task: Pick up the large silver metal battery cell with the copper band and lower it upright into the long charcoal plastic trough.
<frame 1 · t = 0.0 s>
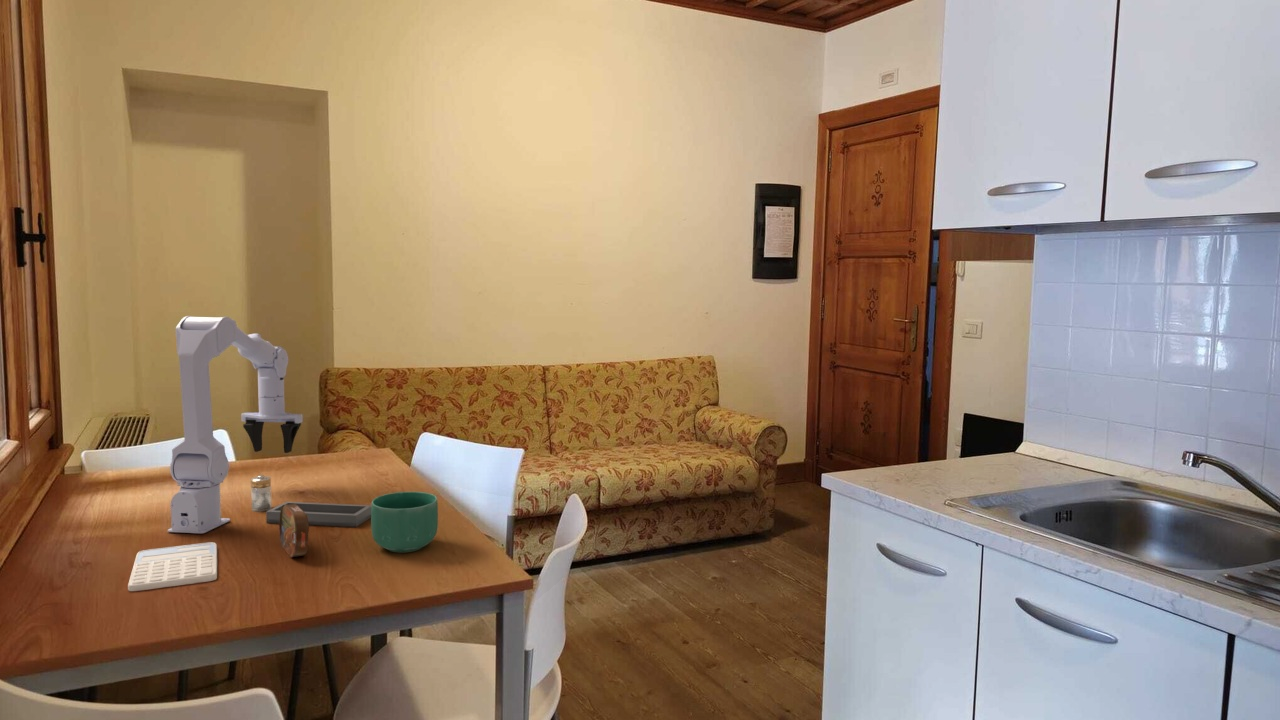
hand: (272, 451, 201), 10 cm above the table, fingers open, 7 cm apart
cell: (261, 508, 188), on the table
calculator: (175, 571, 150), on the table
trough: (320, 519, 180), on the table
tin: (294, 551, 160), on the table
mug: (403, 544, 165), on the table
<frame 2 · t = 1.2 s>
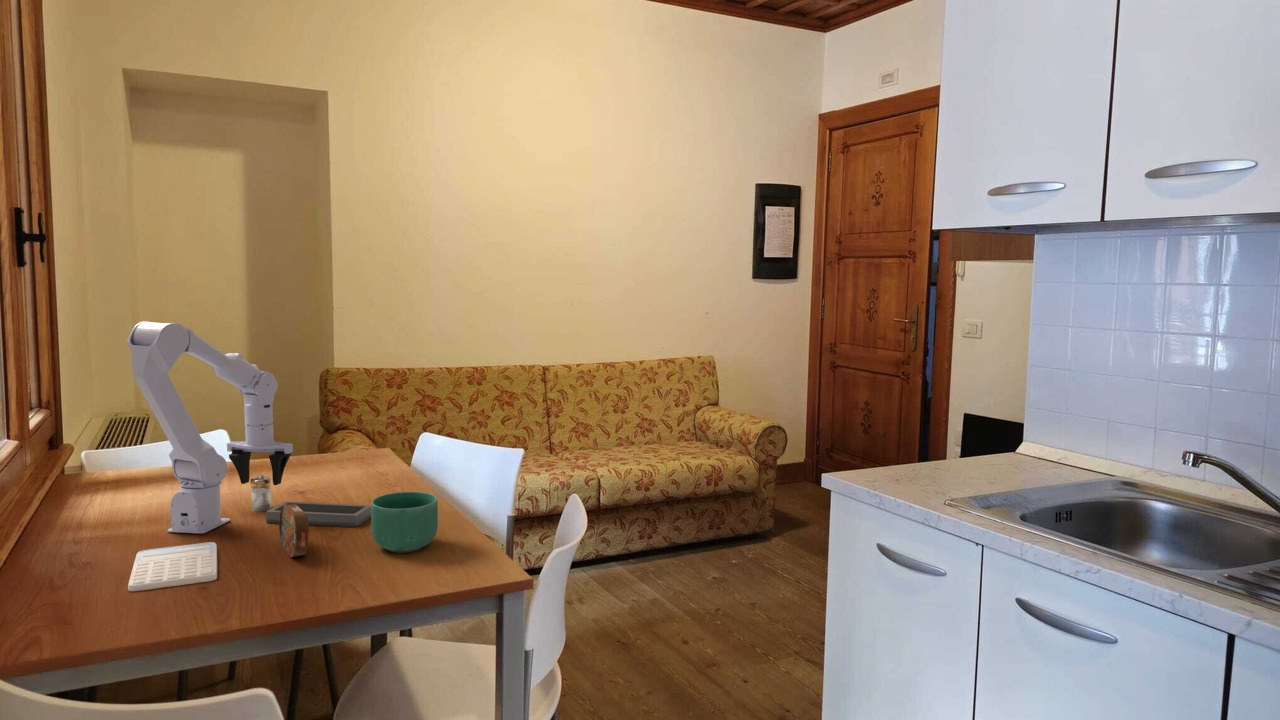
hand: (261, 483, 187), 6 cm above the table, fingers open, 7 cm apart
nothing on the table moved.
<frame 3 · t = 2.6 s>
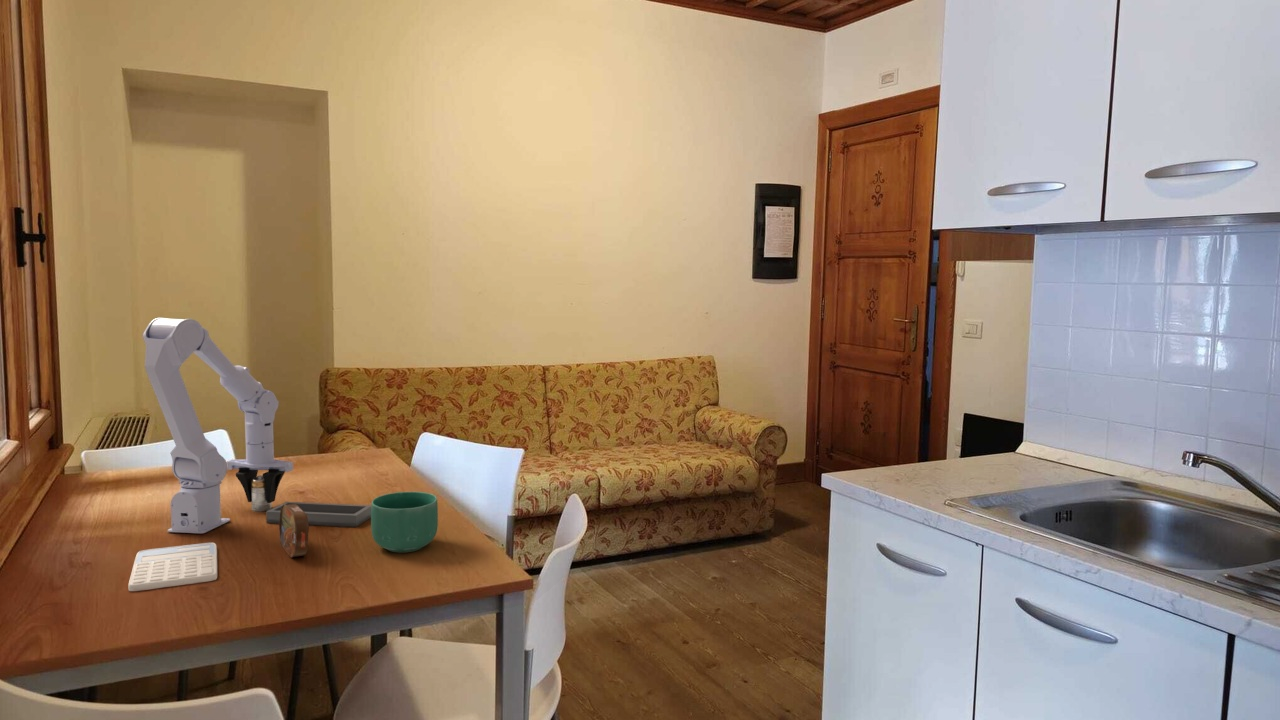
hand: (261, 501, 188), 2 cm above the table, fingers closed on cell, 4 cm apart
cell: (261, 508, 188), on the table, touching gripper
everything else where it was.
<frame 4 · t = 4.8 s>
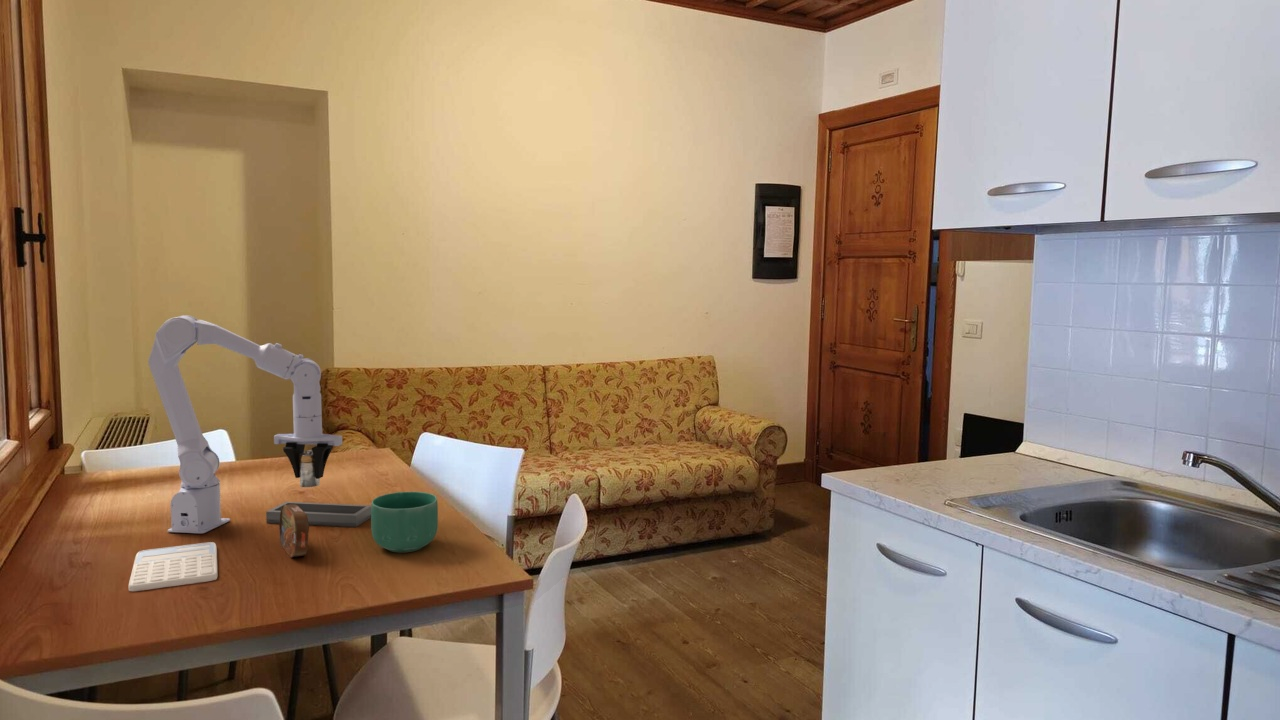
hand: (309, 477, 181), 9 cm above the table, fingers closed on cell, 4 cm apart
cell: (309, 485, 181), point 7 cm above the table, touching gripper
everything else where it was.
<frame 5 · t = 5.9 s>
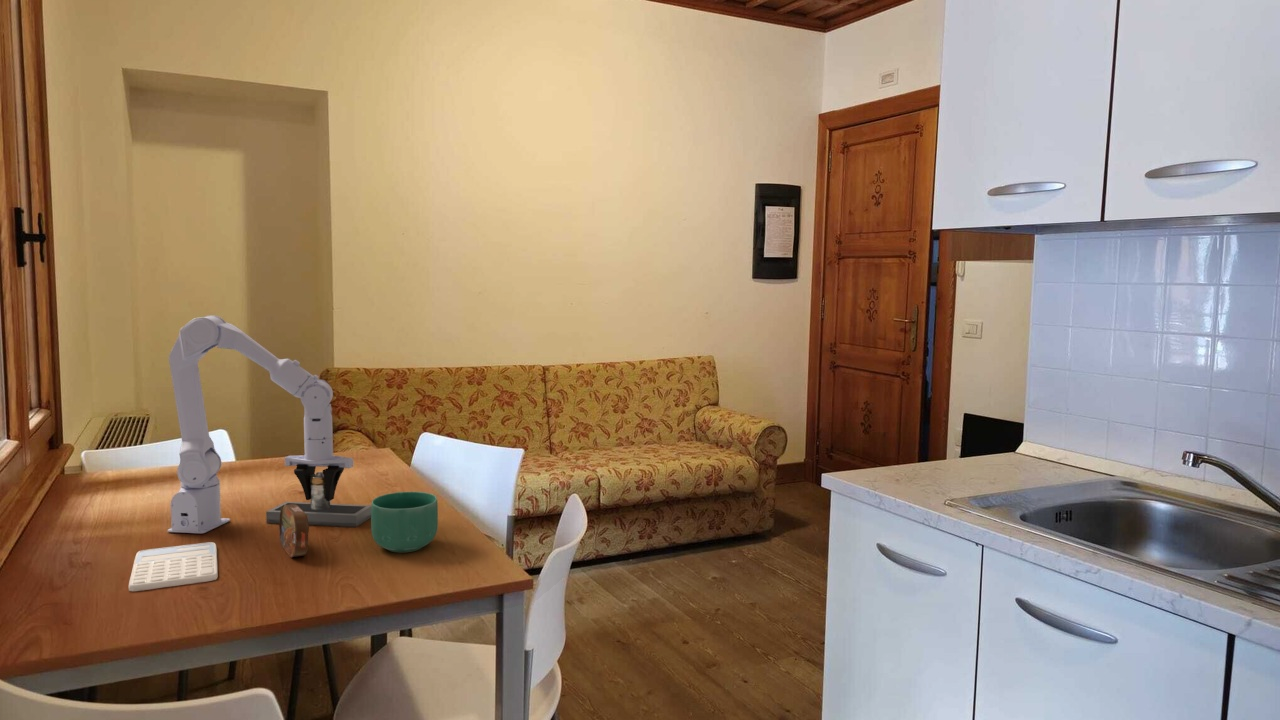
hand: (320, 499, 180), 5 cm above the table, fingers closed on cell, 4 cm apart
cell: (320, 507, 180), point 3 cm above the table, touching gripper
everything else where it was.
when the fingers open (4 cm above the table, at t = 6.9 s): cell stays where it is, resting on trough.
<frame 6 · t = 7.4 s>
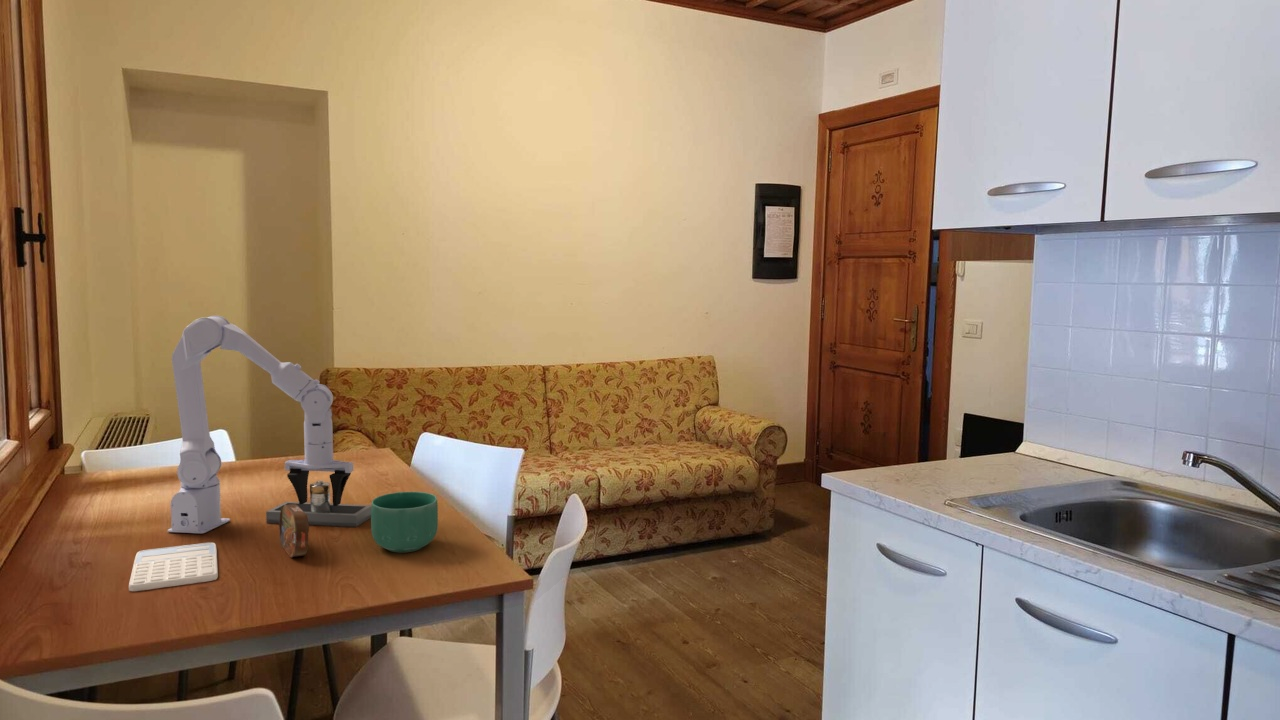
hand: (320, 503, 180), 4 cm above the table, fingers open, 7 cm apart
cell: (320, 515, 180), point 1 cm above the table, touching trough
everything else where it was.
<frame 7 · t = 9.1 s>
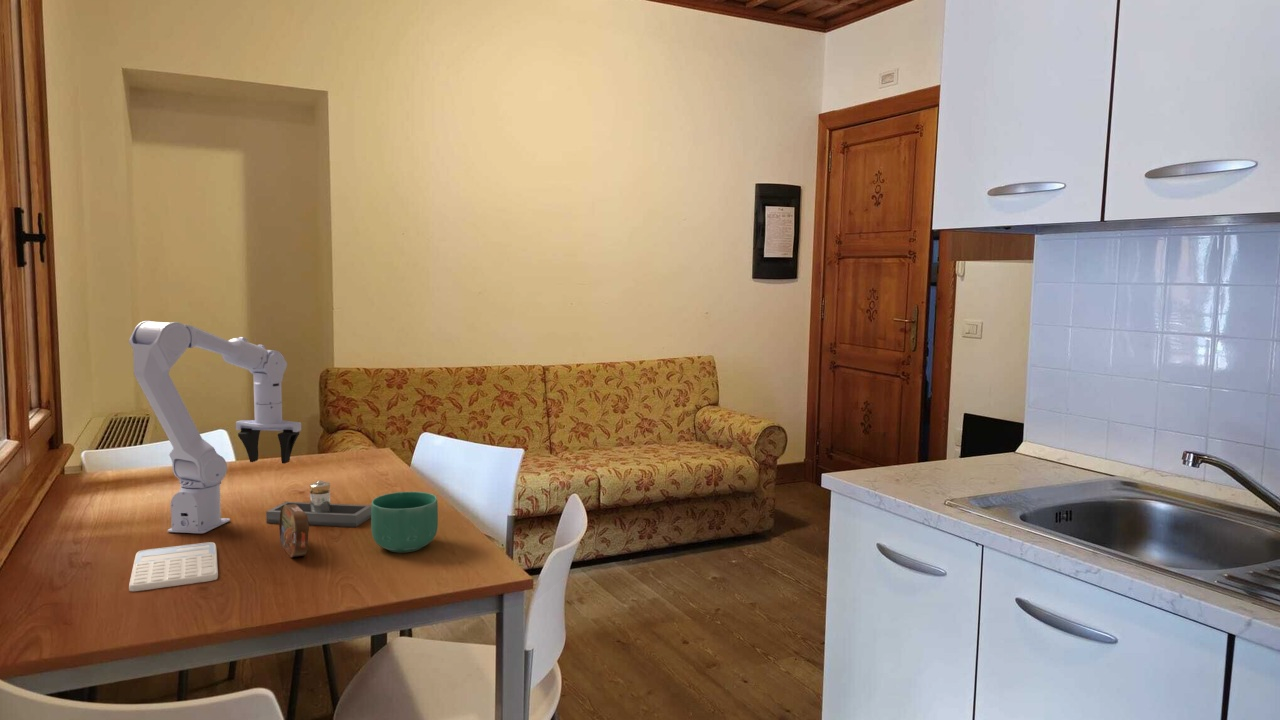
hand: (269, 462, 189), 10 cm above the table, fingers open, 7 cm apart
nothing on the table moved.
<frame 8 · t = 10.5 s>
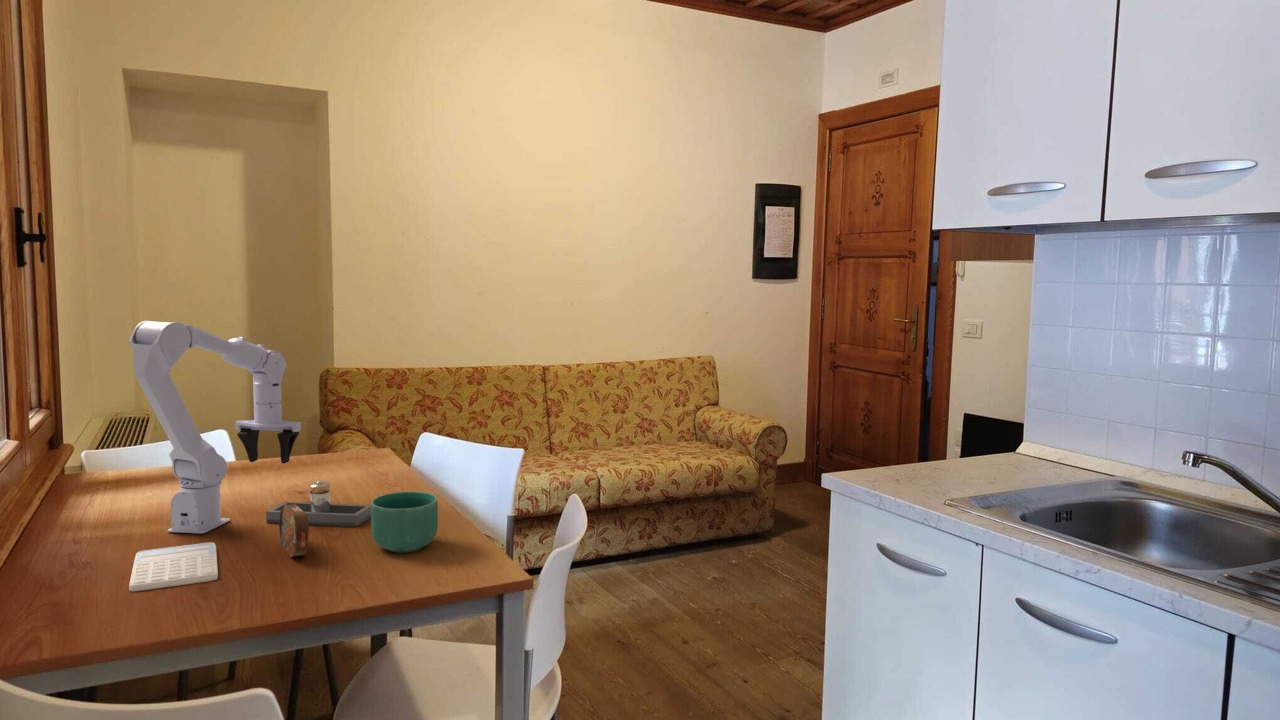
hand: (269, 461, 189), 10 cm above the table, fingers open, 7 cm apart
nothing on the table moved.
at the end: cell inside the target area on the trough (0.2 cm from its centre), point 0.8 cm above the trough's base; cell tilted 0°; the gripper is holding nothing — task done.
